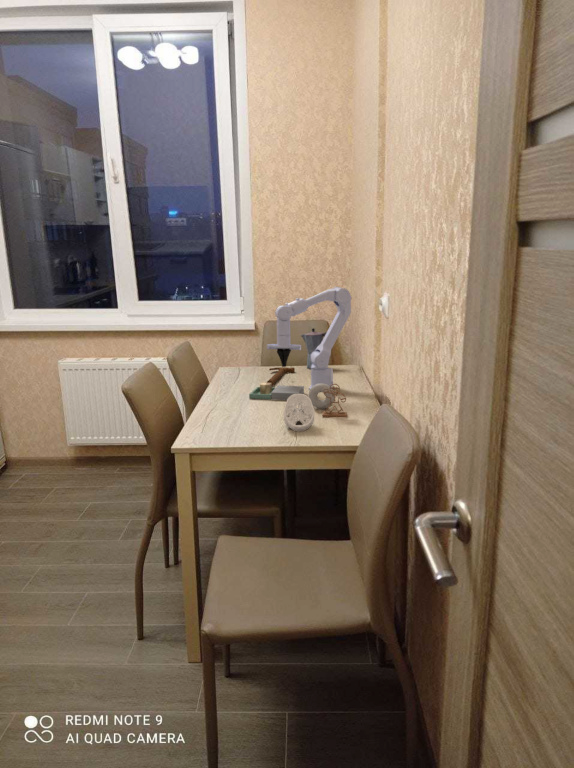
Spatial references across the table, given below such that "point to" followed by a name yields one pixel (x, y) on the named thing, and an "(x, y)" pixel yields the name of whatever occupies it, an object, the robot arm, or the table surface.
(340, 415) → the gingerbread man figurine
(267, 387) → the maple block
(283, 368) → the hammer
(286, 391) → the slate plate
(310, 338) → the moka pot
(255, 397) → the box
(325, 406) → the donut
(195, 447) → the table surface
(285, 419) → the skull bowl
